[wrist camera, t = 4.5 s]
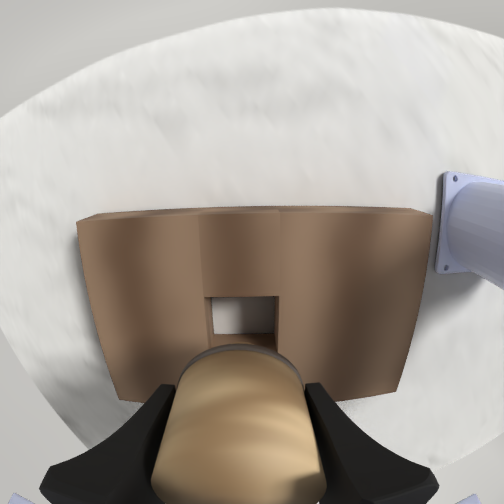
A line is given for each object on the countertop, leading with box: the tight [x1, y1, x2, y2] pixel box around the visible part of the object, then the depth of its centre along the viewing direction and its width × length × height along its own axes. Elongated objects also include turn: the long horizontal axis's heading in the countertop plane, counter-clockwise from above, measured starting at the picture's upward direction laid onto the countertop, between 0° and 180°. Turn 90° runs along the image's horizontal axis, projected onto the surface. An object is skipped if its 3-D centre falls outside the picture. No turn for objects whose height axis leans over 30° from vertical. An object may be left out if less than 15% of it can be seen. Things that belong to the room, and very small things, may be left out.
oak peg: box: [151, 342, 327, 504], centre depth 11 cm, size 6×6×8 cm
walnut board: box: [76, 206, 433, 403], centre depth 19 cm, size 22×14×3 cm, turn 91°
